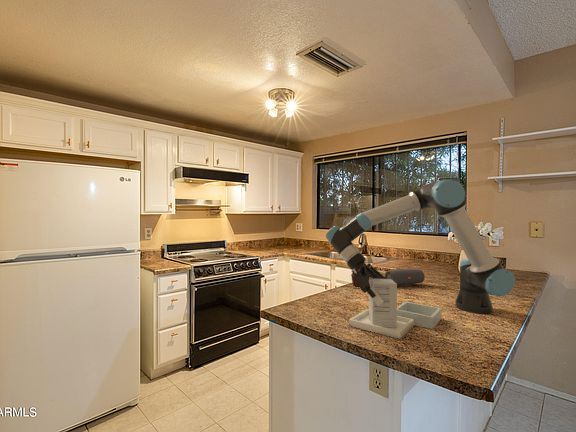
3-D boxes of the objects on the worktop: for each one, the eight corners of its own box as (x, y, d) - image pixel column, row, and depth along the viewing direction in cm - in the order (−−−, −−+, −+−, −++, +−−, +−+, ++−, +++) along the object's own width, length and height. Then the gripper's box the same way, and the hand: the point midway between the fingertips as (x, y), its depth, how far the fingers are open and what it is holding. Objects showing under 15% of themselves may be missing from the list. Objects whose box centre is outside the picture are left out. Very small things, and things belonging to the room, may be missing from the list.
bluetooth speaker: (392, 288, 182) (393, 271, 181) (384, 284, 191) (384, 268, 190) (425, 286, 188) (425, 270, 188) (415, 282, 197) (415, 267, 196)
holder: (441, 318, 130) (441, 308, 130) (432, 329, 118) (432, 317, 118) (405, 311, 139) (405, 301, 139) (393, 320, 128) (394, 309, 128)
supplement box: (397, 328, 116) (397, 283, 116) (372, 327, 117) (372, 283, 117) (391, 319, 125) (391, 278, 125) (368, 318, 126) (368, 277, 126)
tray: (414, 325, 122) (414, 319, 122) (399, 339, 108) (400, 332, 108) (366, 314, 134) (366, 309, 134) (348, 325, 121) (348, 319, 121)
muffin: (370, 289, 179) (370, 272, 179) (351, 288, 181) (351, 271, 181) (369, 284, 191) (369, 268, 190) (351, 283, 193) (351, 267, 193)
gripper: (360, 259, 140) (392, 298, 131) (332, 267, 121) (367, 313, 111) (371, 249, 137) (405, 288, 128) (344, 255, 117) (382, 301, 108)
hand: (387, 300), depth 120 cm, fingers open, 13 cm apart
